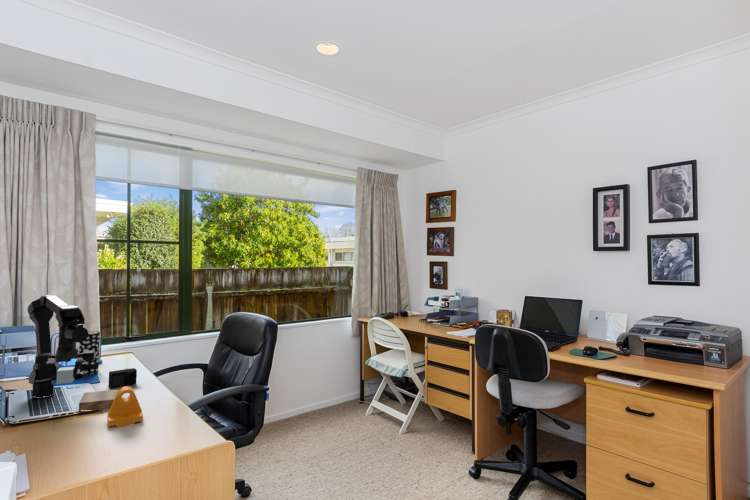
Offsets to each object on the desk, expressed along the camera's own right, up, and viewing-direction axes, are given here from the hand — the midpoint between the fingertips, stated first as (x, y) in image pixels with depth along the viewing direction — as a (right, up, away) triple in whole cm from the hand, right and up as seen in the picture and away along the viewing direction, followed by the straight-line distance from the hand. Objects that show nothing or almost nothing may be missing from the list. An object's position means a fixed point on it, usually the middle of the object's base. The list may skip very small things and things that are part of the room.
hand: (65, 378), depth 166 cm
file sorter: (-41, -11, +63) cm, 76 cm away
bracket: (+30, -12, -12) cm, 35 cm away
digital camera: (+6, -12, +27) cm, 30 cm away
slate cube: (0, -1, 0) cm, 1 cm away
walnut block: (+11, -12, +4) cm, 17 cm away
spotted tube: (-22, -11, +45) cm, 51 cm away
